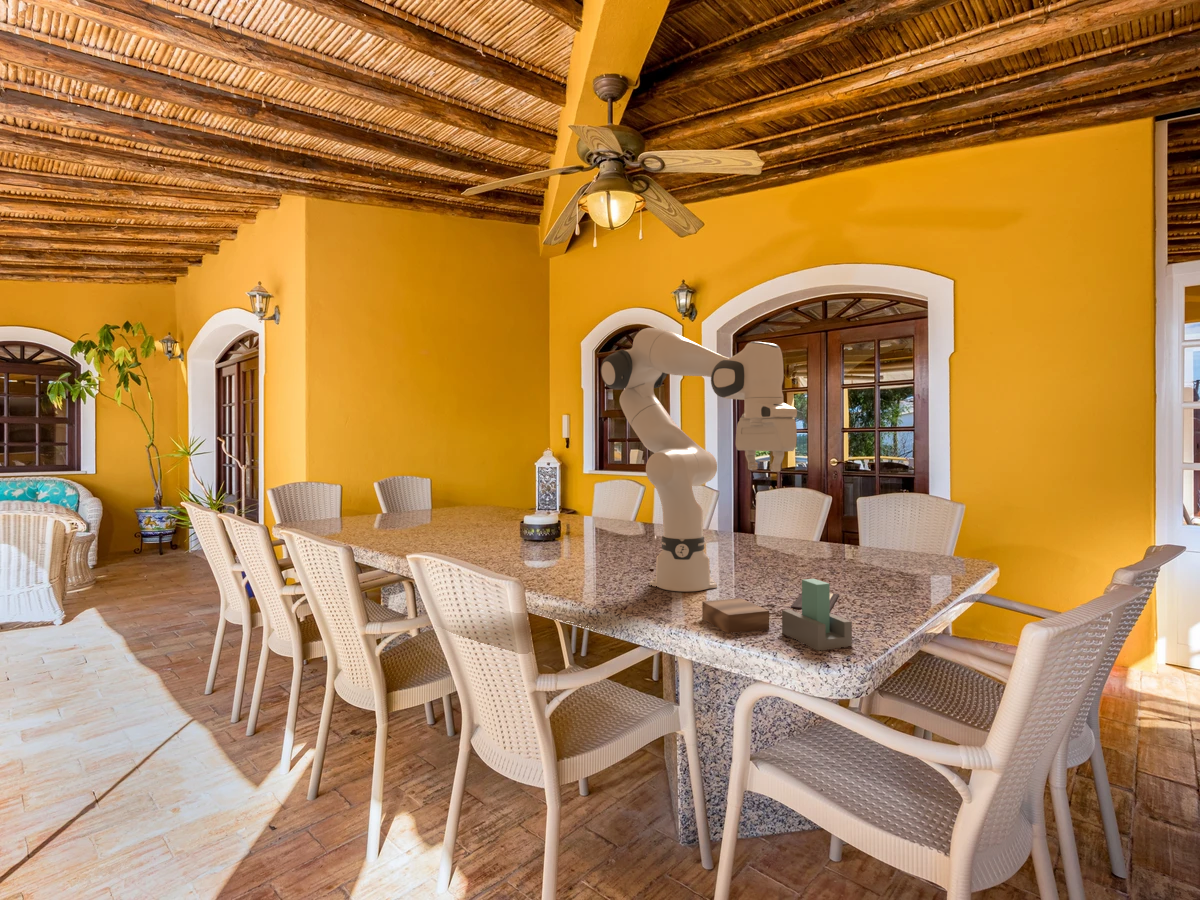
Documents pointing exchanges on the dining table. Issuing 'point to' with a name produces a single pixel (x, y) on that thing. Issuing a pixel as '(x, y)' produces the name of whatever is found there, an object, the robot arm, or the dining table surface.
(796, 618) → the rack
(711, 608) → the brown block
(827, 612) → the sage green upright block
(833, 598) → the chocolate bar
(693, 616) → the dining table surface
